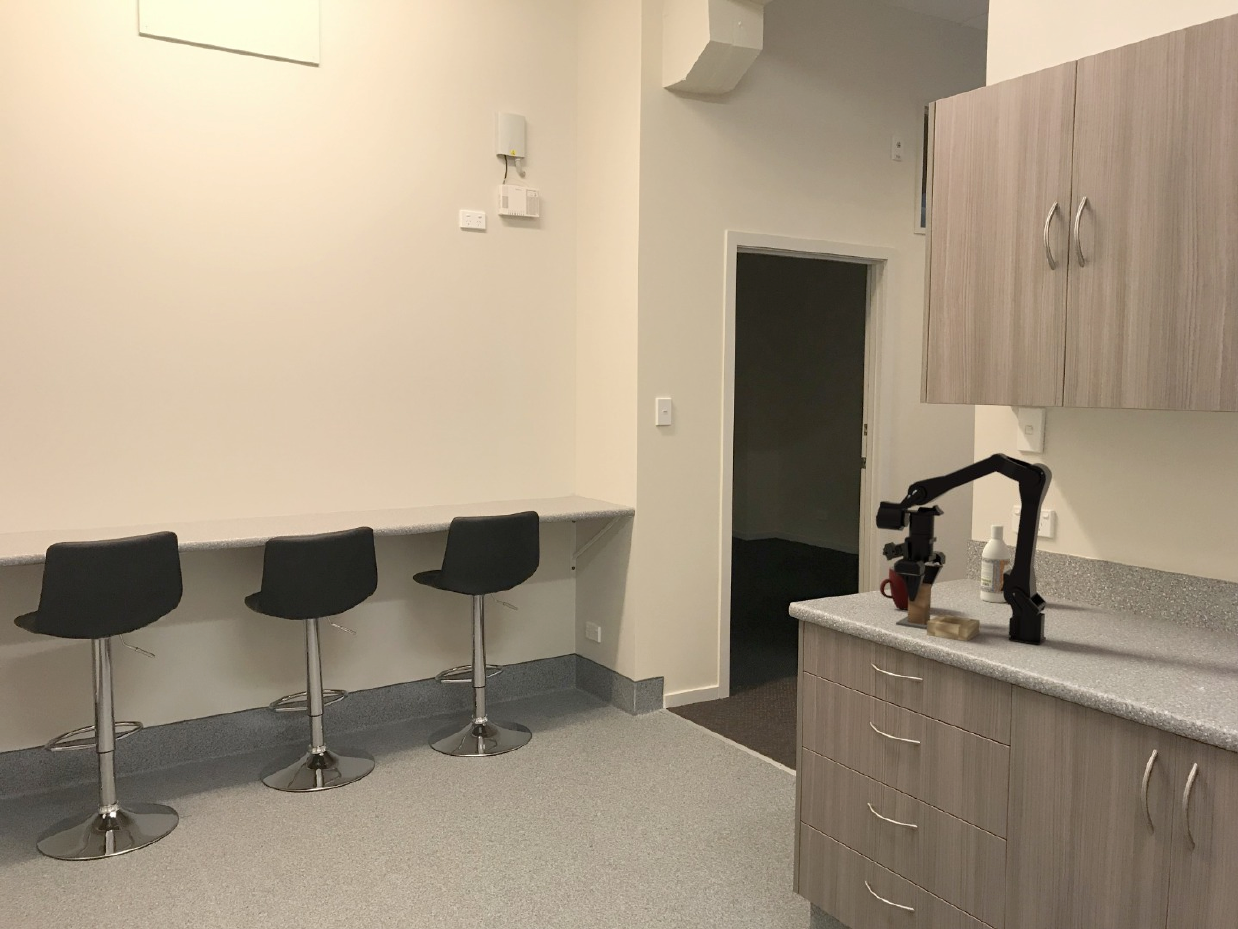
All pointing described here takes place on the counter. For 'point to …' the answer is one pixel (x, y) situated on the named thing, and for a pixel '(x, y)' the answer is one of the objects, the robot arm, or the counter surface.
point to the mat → (905, 623)
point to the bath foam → (994, 566)
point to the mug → (896, 589)
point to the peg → (920, 606)
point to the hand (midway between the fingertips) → (918, 597)
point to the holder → (953, 627)
